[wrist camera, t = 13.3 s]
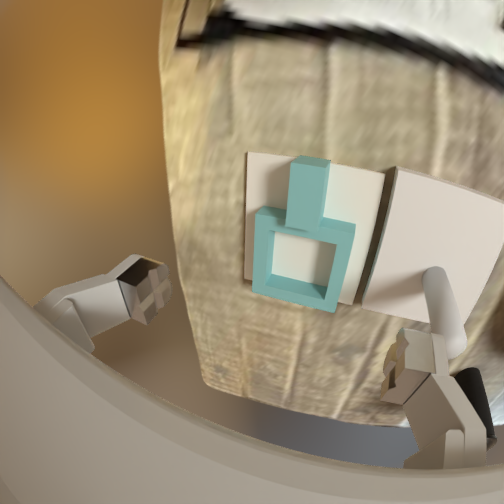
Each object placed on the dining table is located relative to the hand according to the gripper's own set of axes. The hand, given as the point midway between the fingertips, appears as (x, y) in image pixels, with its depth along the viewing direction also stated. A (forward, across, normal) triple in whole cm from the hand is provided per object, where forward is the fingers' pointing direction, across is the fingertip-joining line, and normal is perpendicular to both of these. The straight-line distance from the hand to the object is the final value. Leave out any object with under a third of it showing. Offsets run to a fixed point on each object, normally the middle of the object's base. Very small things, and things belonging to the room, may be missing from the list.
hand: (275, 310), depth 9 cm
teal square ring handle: (+20, +2, +8) cm, 22 cm away
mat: (+21, +2, +8) cm, 22 cm away
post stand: (+21, -13, +7) cm, 25 cm away
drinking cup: (+20, -29, +26) cm, 44 cm away
